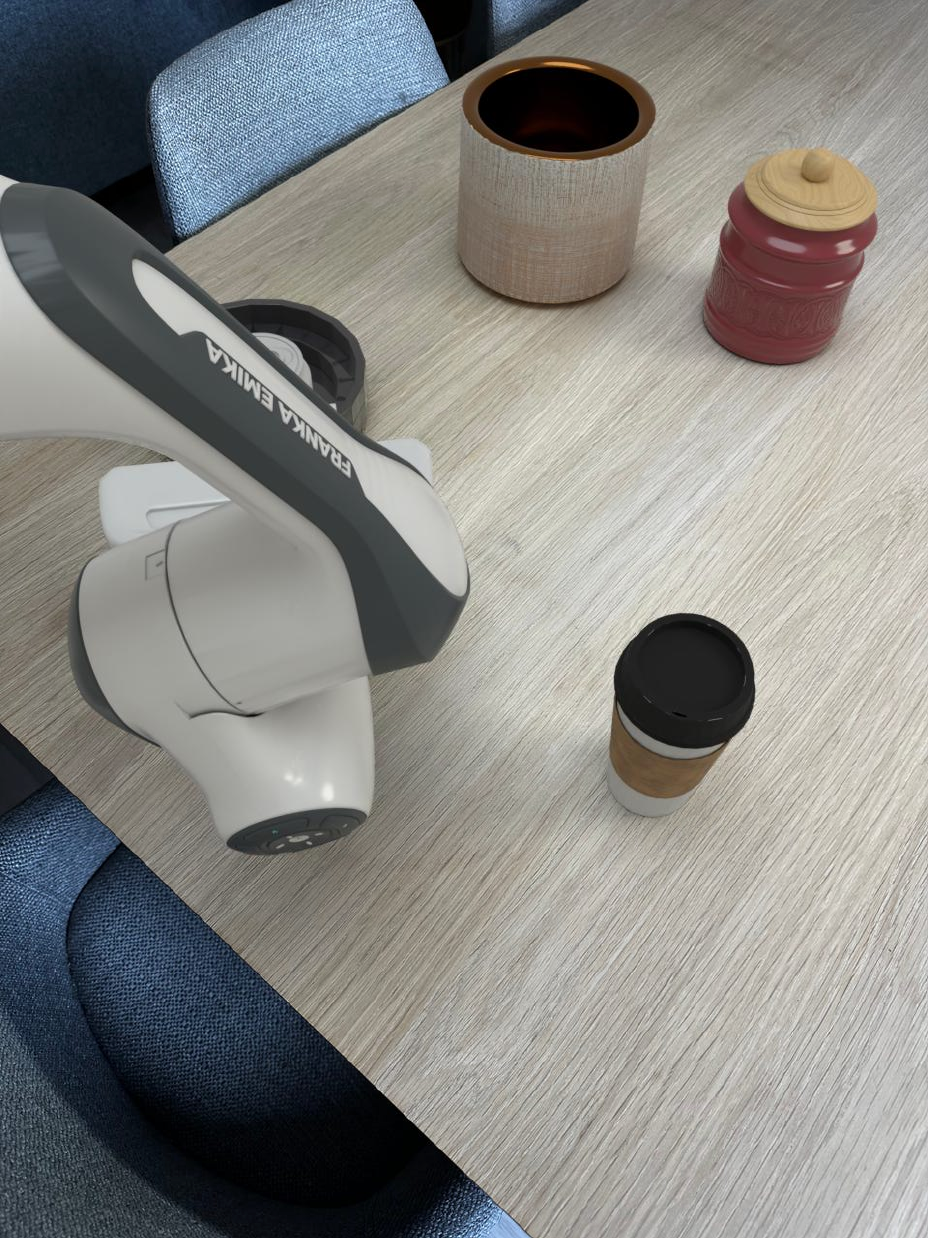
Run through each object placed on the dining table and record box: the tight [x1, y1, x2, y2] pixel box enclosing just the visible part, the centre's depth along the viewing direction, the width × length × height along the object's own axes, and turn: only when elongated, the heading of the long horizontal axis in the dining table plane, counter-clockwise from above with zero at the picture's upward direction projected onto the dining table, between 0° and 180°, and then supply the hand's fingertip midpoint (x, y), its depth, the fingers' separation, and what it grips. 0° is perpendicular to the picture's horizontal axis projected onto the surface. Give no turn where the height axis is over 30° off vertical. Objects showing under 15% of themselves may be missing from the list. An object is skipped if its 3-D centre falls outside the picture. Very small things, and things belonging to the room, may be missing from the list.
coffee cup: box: [606, 612, 757, 818], centre depth 66 cm, size 8×8×15 cm
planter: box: [456, 55, 657, 305], centre depth 99 cm, size 18×18×16 cm
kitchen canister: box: [702, 146, 879, 365], centre depth 93 cm, size 13×13×18 cm
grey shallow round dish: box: [171, 298, 369, 461], centre depth 89 cm, size 19×19×5 cm
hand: (265, 416), depth 68 cm, fingers closed on beverage can, 6 cm apart
